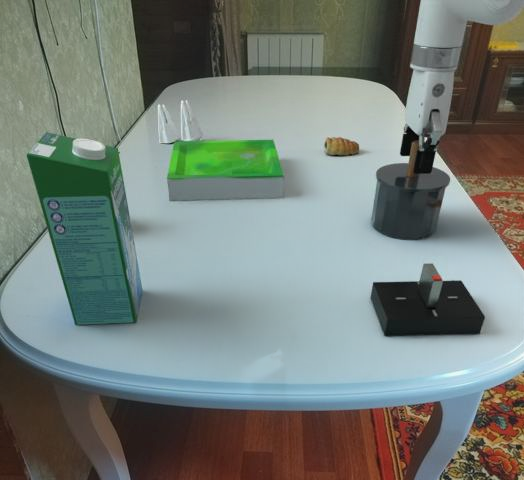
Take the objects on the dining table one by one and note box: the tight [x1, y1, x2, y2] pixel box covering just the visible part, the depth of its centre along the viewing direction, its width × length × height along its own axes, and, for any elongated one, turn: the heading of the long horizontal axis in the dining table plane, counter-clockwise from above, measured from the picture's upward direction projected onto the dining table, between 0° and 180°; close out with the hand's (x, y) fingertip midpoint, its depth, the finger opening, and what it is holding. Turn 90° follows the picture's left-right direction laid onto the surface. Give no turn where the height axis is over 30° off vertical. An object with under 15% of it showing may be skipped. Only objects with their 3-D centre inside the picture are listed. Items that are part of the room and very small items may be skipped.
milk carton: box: [26, 131, 143, 326], centre depth 71 cm, size 9×9×25 cm
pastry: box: [323, 136, 360, 156], centre depth 135 cm, size 9×7×4 cm
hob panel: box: [370, 279, 486, 337], centre depth 76 cm, size 14×10×3 cm
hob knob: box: [418, 262, 444, 308], centre depth 74 cm, size 5×1×5 cm, turn 2°
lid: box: [375, 140, 451, 192], centre depth 93 cm, size 14×14×7 cm
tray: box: [166, 139, 285, 202], centre depth 120 cm, size 25×25×5 cm
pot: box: [370, 179, 446, 241], centre depth 98 cm, size 13×13×10 cm
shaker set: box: [157, 99, 204, 145], centre depth 139 cm, size 12×4×11 cm, turn 81°
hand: (414, 163), depth 94 cm, fingers open, 8 cm apart
